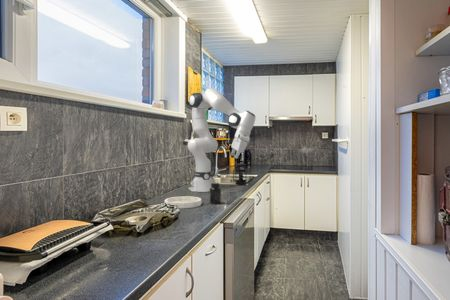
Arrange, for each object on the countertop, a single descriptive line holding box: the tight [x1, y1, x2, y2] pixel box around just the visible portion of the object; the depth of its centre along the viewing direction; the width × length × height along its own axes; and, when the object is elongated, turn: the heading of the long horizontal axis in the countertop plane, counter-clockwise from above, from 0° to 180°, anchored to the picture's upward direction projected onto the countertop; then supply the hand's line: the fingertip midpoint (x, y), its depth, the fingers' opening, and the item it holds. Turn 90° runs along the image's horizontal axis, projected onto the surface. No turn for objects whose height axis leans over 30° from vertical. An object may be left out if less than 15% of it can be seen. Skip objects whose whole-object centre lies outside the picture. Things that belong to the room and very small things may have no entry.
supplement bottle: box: [209, 182, 222, 205], centre depth 196 cm, size 7×7×12 cm
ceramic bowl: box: [164, 195, 203, 210], centre depth 193 cm, size 21×21×3 cm
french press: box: [232, 156, 247, 186], centre depth 274 cm, size 12×9×23 cm
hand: (234, 156), depth 207 cm, fingers open, 8 cm apart
